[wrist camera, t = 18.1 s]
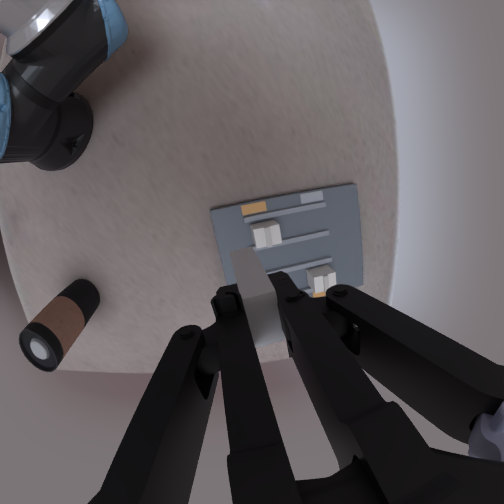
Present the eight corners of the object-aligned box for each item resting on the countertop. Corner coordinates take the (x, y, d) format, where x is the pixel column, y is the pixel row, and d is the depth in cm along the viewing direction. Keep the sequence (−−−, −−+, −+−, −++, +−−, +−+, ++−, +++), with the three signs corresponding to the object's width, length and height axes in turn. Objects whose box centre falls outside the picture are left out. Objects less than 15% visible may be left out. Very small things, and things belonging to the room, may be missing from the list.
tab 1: (253, 242, 45) (257, 249, 41) (249, 224, 44) (253, 230, 40) (276, 237, 45) (283, 244, 41) (273, 219, 45) (280, 225, 40)
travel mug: (98, 317, 48) (59, 380, 29) (68, 303, 46) (20, 359, 27) (103, 285, 46) (57, 344, 27) (71, 271, 44) (16, 321, 25)
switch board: (234, 312, 51) (235, 320, 48) (210, 209, 45) (209, 211, 42) (358, 281, 53) (365, 286, 50) (351, 183, 47) (359, 184, 44)
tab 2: (307, 284, 49) (316, 295, 44) (306, 269, 48) (314, 279, 44) (328, 279, 49) (337, 289, 45) (326, 264, 48) (336, 273, 44)
